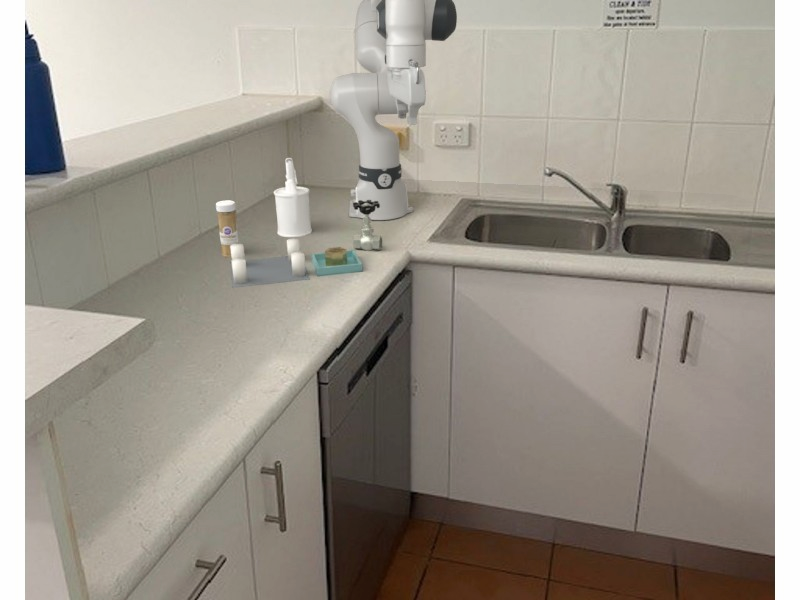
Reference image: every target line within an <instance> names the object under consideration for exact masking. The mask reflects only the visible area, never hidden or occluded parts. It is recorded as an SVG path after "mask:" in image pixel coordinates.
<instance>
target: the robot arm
mask: <svg viewBox="0 0 800 600" xmlns="http://www.w3.org/2000/svg"><path fill="white" fill-rule="evenodd" d="M456 8H457V7H456V4H455V3H454V1H453V0H362V1H361V2H360V3H359V5H358V8H357V12H356V16H355V17H356V18H355V27H354V29H355V31H354V36H355V38H354V39H355V57H356V60H357V62H358V63H359V64H360V66H361V67H362V69H364V70H366V71H367V72H354V73H353V72H352V73H347V74H344V75H339V76H336V78H335V79H334V80H333V81H332V83H331V86H330V88H329V99H330V104H331V105H332V107H333V108H334V109H335V111H336V112H337V113H339V114H340V115H341V116H342V117H344V118H345V119H346V121H348V122H349V123H350V125H351V126H352V128H353V129H354V132H355V134H356V138H357V142H358V150H359V161H360V163H359V165H358V178H359V179H358V181H357V183H356V186H355V188H354V189H353V188H351V189H350V198H354V199H350V200H349V211H348V216H349V218H360V219H363V218H364V217H365V214H363V213H361V212H360V210H359V208H358V210H355V209H354V207H353V203H354V202H357V203H358V201H359V200H362V201H367V200H371V202H374V201H378V203H379V204H380V208H377V206H376V209H375V211H374V212H371V214H369V217H370V218H371V220H373V221H384V220H385V221H388V220H394V219H399V218H402V217H405V216H406V215H407V214H410V213H412V212H414V207H413V206H411V205H409V200H408V186H407V183H406V182H405V181H404V180H403V179H402V171H403V170H402V164H401V163H400V160H401V159H400V139H399V136H398V134H397V133H396V132H395V131H393V130H392V129H390V128H388V127H386V126H385V125H382V124H381V123H379V122H378V121H377V119H376V116H379V115H397V118H398V119H406V118H407V123H408V125H410V126H417V124H418V115H419V110H420V108H422V107H423V106H425V104H426V96H427V95H426V91H427V90H426V78H425V73H424V70H423V69H421V68H424V67H426V64H427V62H426V61H427V57H426V56H427V54H426V53H427V52H426V51H427V50H426V49H427V48H426V47H427V46H426V45H427V44H426V43H427V42H426V41H431V40H432V41H437V42H438V41H439V42H445V41H446V40H447V39H448V38H449V37H450V36H451V35H453V33H454V32H455V30H456V29H457V22H458V21H457V20H458V16H457V15H458V14H457V9H456ZM407 113H408V114H407ZM370 205H371V204H370Z"/></svg>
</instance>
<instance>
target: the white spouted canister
mask: <svg viewBox="0 0 800 600" xmlns="http://www.w3.org/2000/svg"><path fill="white" fill-rule="evenodd" d="M284 163H285V171H286V174H285V175H284V176H285V179H286V180H285V182H284V183H285V186H284V187H280V188H277V189H275V190H274V191H273V195H274V197H275V198H274V199H275V201H274V202H275V209H276V218H277V219H276V220H277V221H276V222H277V232H276V233H277V235H278V236H279V237H283V238H284V237H285V238H299V237H300V238H301V237H304V236H305V237H306V236H308V235H310V234H312V233H313V228H312V226H311V225H312V223H311V213H310V212H311V210H310V195H309V194H310V189H309V188H308V187H305V186H297V185H298V184H299V182H298V179H297V178H298V175H297V174H296V173H297V171H296V169H295V167H294V166H295V165H294V160H293V158H292V157H286V158H285V162H284Z"/></svg>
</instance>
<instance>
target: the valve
mask: <svg viewBox="0 0 800 600" xmlns="http://www.w3.org/2000/svg"><path fill="white" fill-rule="evenodd" d="M370 204H371V205H370ZM376 206H377V208H380V204H379V203H378V201H374V202H371V200H367V201H362V200H359V201H358V203H357V202H354V203H353V207H354V209H355V210H358V208H359V210H360V212H361V213H363V214H365V217H364V218H362V223H363V224H364V225H363V226H362V227H361V228H360V229H361V233H362V234H355V233H354V236H353V239H352V245H353V249H354V250H355V249H356V250H363V251H368V252H369V251H372V250H375V251H381V250H382V248H383V236H382V235H379V234H377V235H376V234H374V235H373V233H374V227H373V226H372V225H371V223H372V221H371V218H370V217H369V214H371V212H374V211H375V209H376Z"/></svg>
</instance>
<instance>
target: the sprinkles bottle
mask: <svg viewBox="0 0 800 600" xmlns="http://www.w3.org/2000/svg"><path fill="white" fill-rule="evenodd" d="M215 209H216V213H217V219H218V227H219V229H218V230H219V238H220V240H219V241H220V244H221V245H220V247H221V256H222V257H224V258H232V257H231V249H230V246H231V245H232V244H240V239H239V230H238V221H237V213H236V211H237V207H236V202H235V201H234V200H230V199H228V200H227V199H225V200H220V201H217V202H216V203H215Z"/></svg>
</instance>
